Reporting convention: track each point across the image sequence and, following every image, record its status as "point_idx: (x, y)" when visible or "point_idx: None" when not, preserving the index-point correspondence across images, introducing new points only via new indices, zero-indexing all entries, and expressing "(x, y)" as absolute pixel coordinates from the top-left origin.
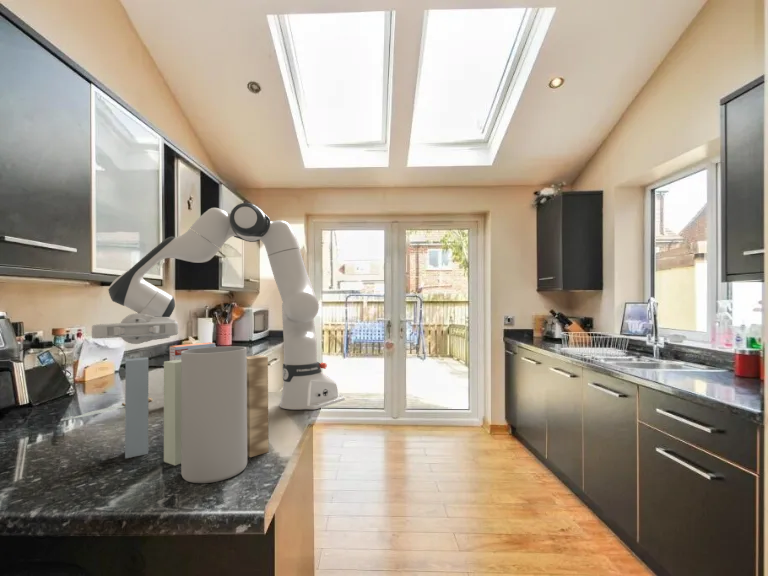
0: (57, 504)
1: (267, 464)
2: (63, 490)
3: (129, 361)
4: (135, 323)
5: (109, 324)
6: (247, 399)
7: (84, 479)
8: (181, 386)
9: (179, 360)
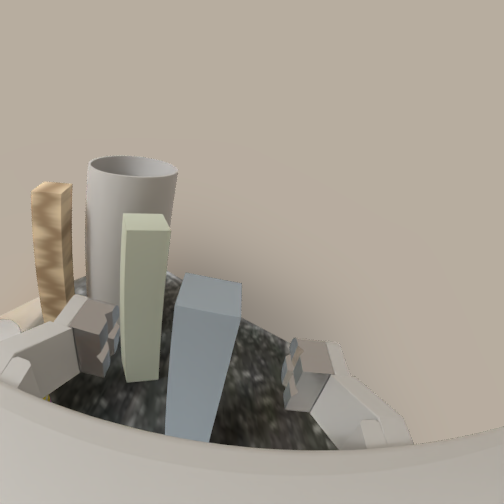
0: (273, 349)
1: (80, 292)
2: (275, 376)
3: (232, 283)
4: (209, 461)
5: (467, 444)
6: (69, 249)
7: (257, 392)
8: (170, 219)
9: (143, 223)
